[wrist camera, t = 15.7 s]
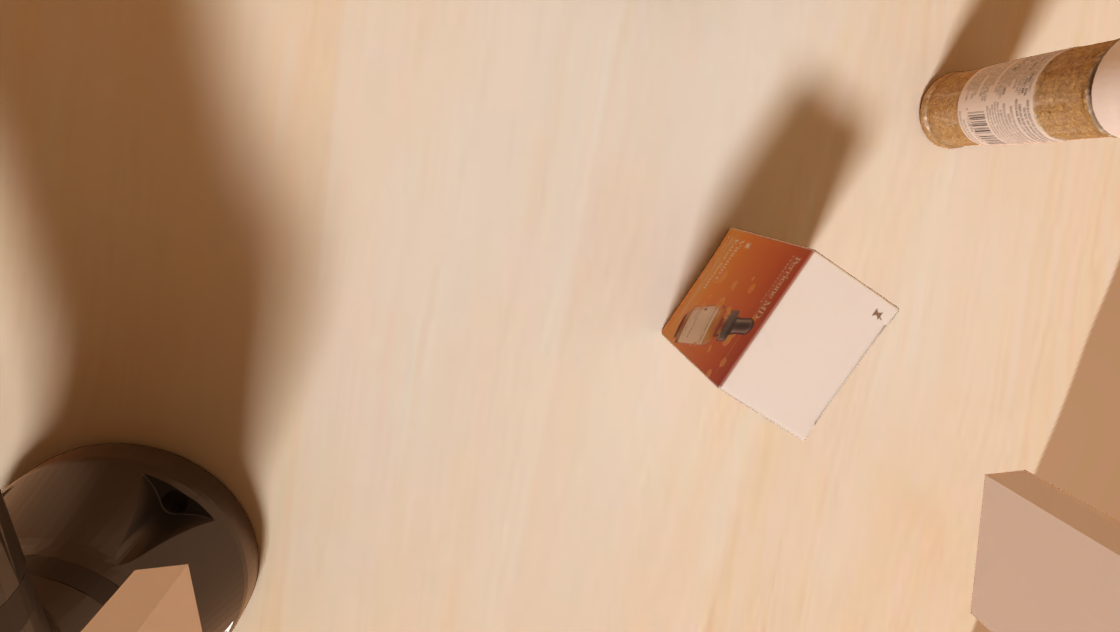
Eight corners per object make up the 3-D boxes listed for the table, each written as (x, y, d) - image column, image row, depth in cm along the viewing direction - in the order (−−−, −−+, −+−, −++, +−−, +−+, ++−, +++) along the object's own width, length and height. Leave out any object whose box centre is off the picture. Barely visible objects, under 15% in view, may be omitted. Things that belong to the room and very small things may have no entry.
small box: (729, 225, 39) (816, 243, 29) (798, 272, 40) (905, 307, 30) (656, 333, 40) (716, 389, 30) (726, 377, 41) (806, 444, 31)
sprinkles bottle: (994, 126, 40) (1244, 104, 27) (929, 162, 40) (1148, 157, 27) (971, 57, 38) (1220, -3, 25) (904, 93, 38) (1120, 53, 25)
